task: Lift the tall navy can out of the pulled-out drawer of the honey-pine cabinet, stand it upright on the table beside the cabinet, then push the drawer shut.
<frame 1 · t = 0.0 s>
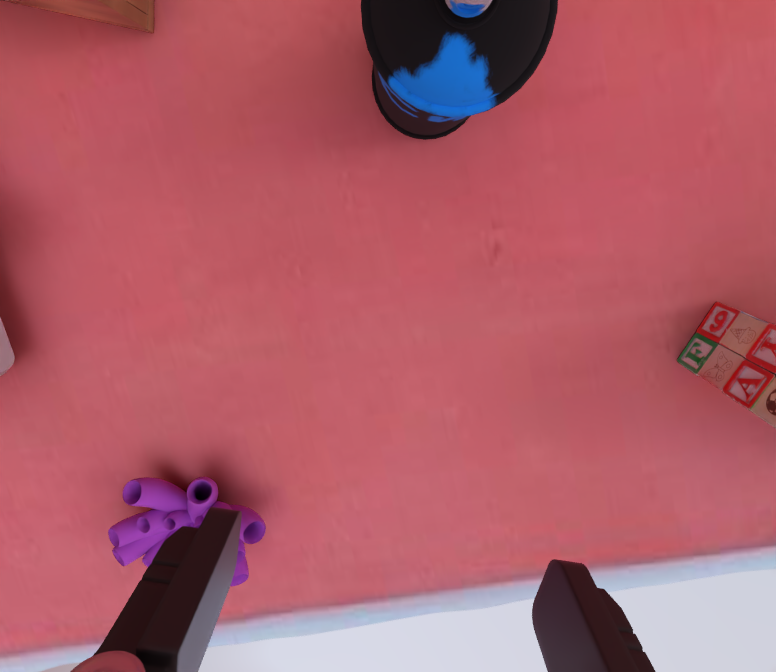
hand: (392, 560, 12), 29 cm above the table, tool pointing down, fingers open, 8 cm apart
aerosol can: (427, 79, 34), on the table
pipe connector assembly: (205, 503, 47), on the table
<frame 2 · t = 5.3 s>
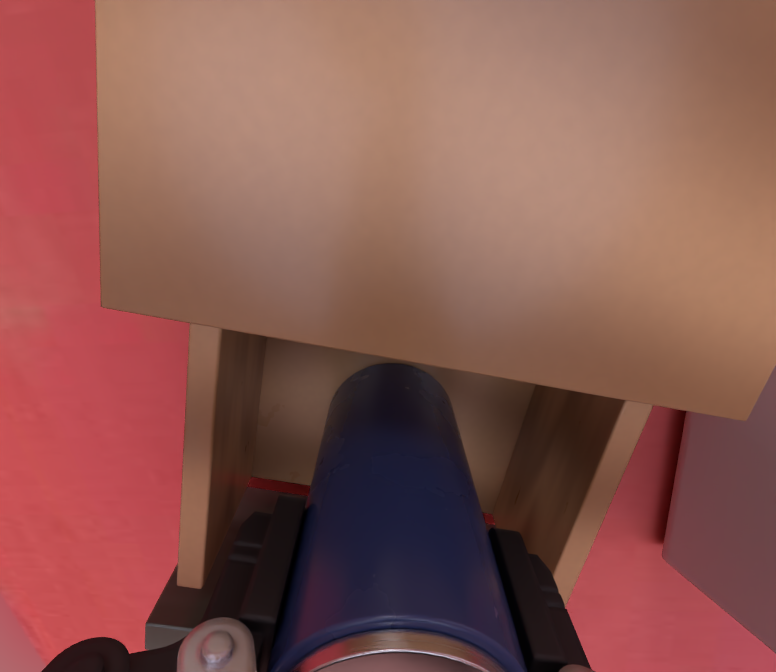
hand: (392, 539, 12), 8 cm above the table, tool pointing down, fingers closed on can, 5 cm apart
cabinet: (463, 60, 16), on the table
drawer: (383, 489, 17), point 4 cm above the table, slide at 10.5 cm, touching can
can: (390, 419, 18), point 2 cm above the table, touching drawer, gripper
when the fingers open (6 cm above the table, at t = 10.7 s): can stays where it is, on the table.
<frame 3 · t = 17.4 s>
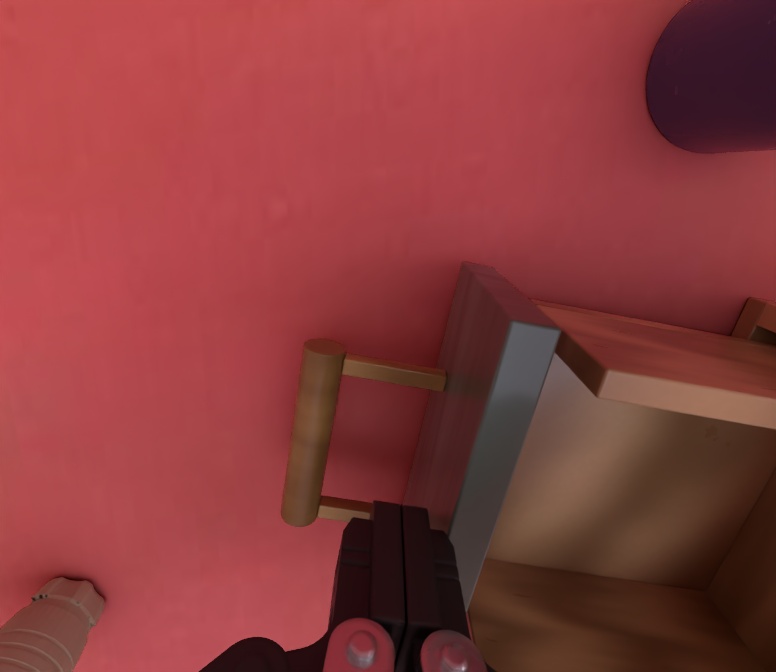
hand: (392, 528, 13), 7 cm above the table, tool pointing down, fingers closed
handle: (78, 593, 23), on the table
drawer: (567, 499, 16), point 4 cm above the table, slide at 10.2 cm, touching gripper
can: (721, 72, 15), on the table
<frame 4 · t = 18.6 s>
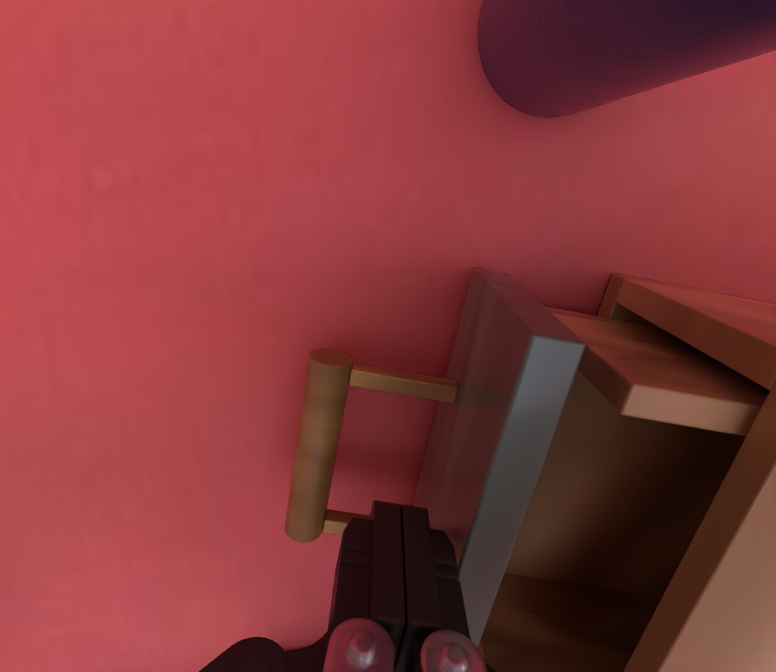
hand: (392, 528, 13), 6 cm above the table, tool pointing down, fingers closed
cabinet: (725, 472, 20), on the table
drawer: (582, 515, 15), point 4 cm above the table, slide at 4.1 cm, touching gripper
can: (557, 29, 14), on the table
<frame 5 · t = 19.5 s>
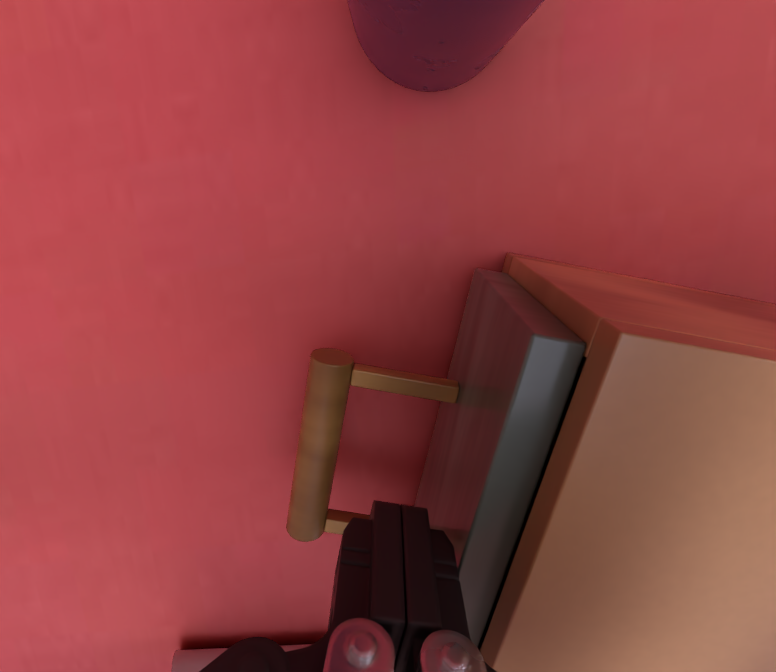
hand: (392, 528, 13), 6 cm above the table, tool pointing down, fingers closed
cabinet: (639, 458, 19), on the table
drawer: (584, 516, 15), point 4 cm above the table, slide at 0.0 cm, touching cabinet, gripper
can: (432, 0, 14), on the table
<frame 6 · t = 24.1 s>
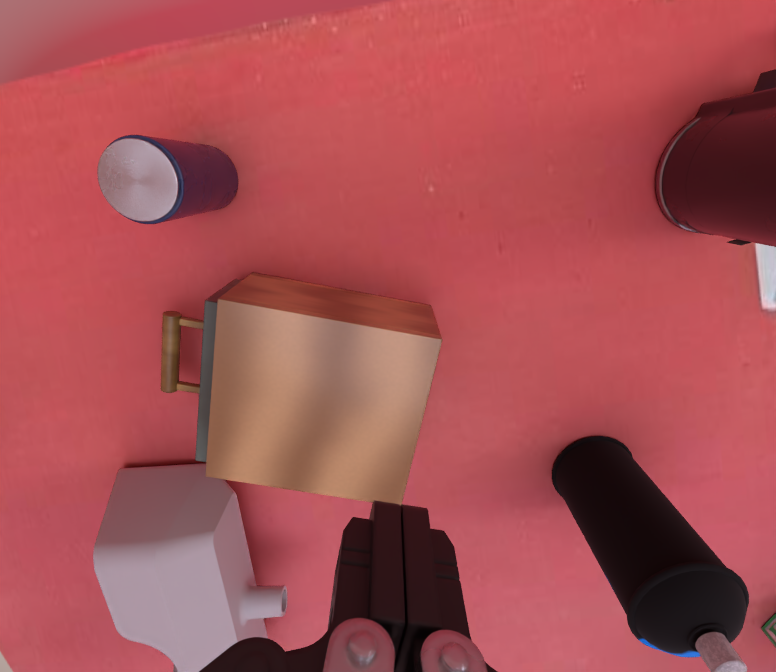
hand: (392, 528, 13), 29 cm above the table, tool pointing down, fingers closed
aerosol can: (591, 468, 47), on the table
cabinet: (330, 365, 43), on the table
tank: (223, 552, 50), on the table
drawer: (274, 377, 38), point 4 cm above the table, slide at 0.0 cm
can: (207, 178, 37), on the table
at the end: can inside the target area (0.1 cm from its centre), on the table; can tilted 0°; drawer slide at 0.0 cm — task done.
